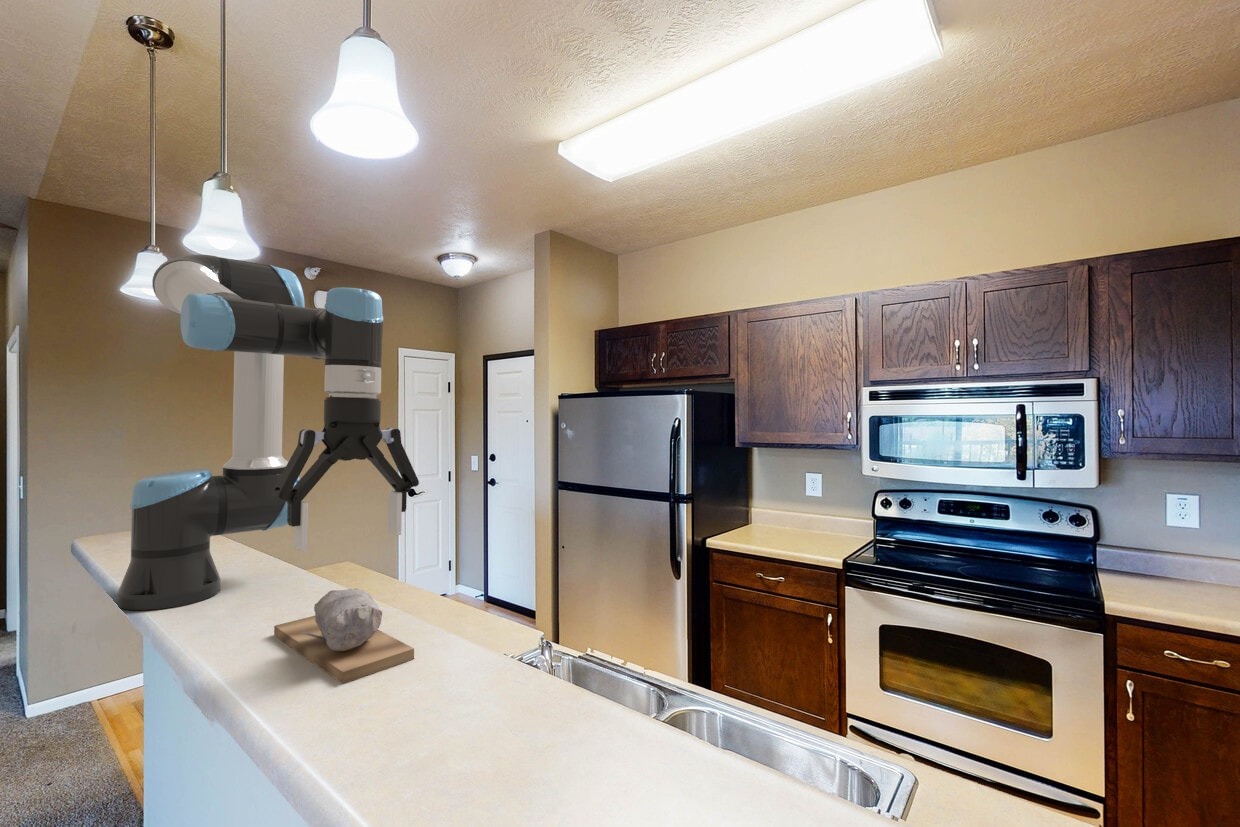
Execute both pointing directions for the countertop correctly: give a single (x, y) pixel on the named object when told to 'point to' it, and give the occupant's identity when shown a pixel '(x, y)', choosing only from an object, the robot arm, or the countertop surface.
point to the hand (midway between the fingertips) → (350, 541)
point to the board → (347, 663)
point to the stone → (347, 618)
